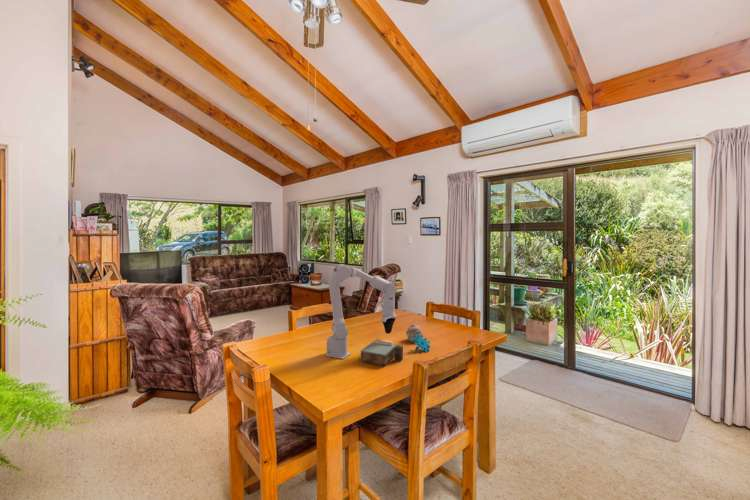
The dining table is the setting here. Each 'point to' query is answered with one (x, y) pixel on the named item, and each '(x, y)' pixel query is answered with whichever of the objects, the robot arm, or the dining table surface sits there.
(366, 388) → the dining table surface
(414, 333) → the cupcake
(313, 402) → the dining table surface
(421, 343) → the gear
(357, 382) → the dining table surface
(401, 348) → the block
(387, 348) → the lid
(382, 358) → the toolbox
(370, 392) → the dining table surface
